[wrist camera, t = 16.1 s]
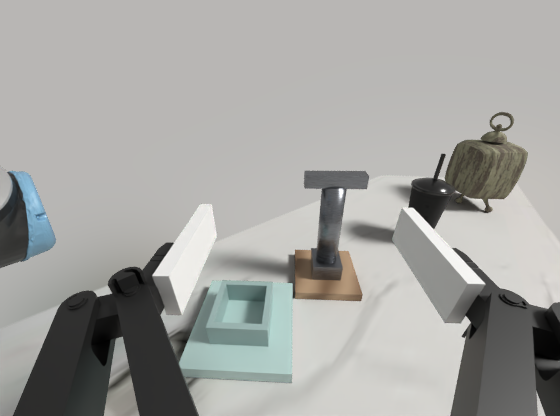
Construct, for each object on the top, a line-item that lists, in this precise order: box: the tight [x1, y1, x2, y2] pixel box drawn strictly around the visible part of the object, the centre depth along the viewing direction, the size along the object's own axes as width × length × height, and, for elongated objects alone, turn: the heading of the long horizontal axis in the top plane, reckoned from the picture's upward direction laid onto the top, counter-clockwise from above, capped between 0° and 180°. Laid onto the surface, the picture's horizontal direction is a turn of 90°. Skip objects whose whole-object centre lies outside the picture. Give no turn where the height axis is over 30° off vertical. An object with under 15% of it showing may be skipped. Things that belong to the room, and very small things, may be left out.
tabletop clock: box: [445, 112, 528, 212], centre depth 62 cm, size 14×9×25 cm, turn 176°
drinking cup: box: [408, 154, 456, 229], centre depth 48 cm, size 8×8×20 cm
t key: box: [304, 171, 369, 281], centre depth 38 cm, size 9×5×19 cm, turn 87°
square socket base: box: [179, 280, 293, 383], centre depth 33 cm, size 14×14×6 cm
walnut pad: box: [295, 250, 362, 301], centre depth 43 cm, size 11×11×2 cm
